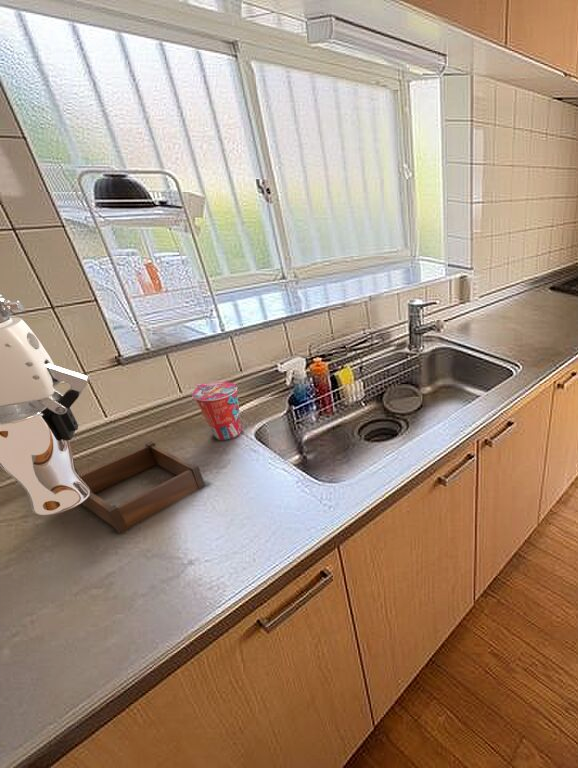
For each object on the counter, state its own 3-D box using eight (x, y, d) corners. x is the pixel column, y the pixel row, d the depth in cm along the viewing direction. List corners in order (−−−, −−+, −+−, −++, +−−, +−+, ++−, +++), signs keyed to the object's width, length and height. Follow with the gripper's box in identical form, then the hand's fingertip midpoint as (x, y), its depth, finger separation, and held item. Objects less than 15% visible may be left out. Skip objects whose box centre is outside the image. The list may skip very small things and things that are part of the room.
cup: (256, 426, 103) (245, 382, 97) (236, 446, 95) (222, 400, 89) (218, 424, 102) (204, 380, 97) (194, 444, 95) (178, 398, 89)
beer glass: (93, 478, 65) (50, 393, 58) (97, 502, 61) (51, 413, 54) (28, 498, 60) (-27, 409, 54) (28, 526, 56) (-32, 433, 49)
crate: (75, 502, 78) (62, 479, 75) (160, 461, 89) (151, 440, 86) (121, 535, 72) (109, 511, 69) (206, 487, 83) (198, 465, 80)
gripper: (69, 299, 55) (119, 414, 63) (-147, 315, 46) (-56, 447, 54) (55, 315, 50) (112, 439, 58) (-193, 338, 41) (-85, 480, 49)
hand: (30, 442), depth 56 cm, fingers closed on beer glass, 7 cm apart
